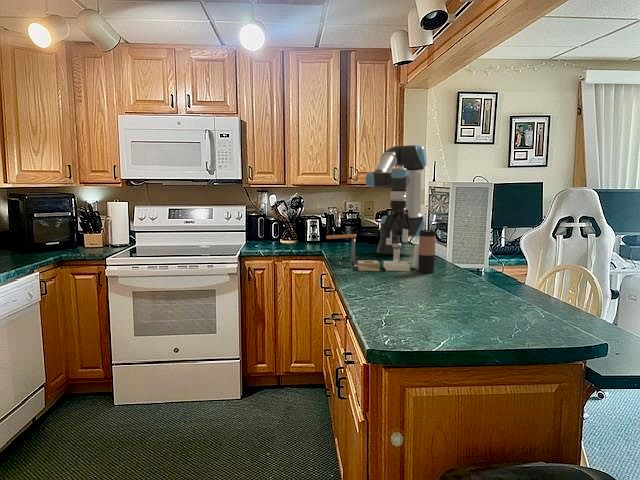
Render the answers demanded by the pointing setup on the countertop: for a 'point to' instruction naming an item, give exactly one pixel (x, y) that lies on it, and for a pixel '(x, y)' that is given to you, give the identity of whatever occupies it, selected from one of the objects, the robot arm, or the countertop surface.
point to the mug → (416, 256)
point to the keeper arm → (340, 236)
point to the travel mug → (427, 251)
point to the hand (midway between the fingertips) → (397, 243)
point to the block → (368, 265)
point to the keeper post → (353, 254)
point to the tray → (396, 266)
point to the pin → (396, 253)
